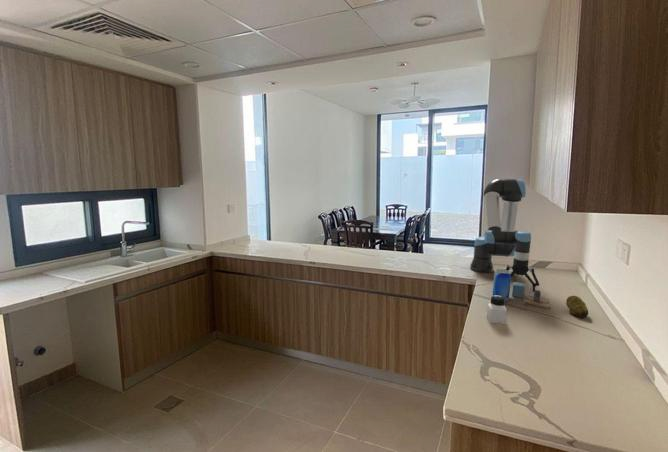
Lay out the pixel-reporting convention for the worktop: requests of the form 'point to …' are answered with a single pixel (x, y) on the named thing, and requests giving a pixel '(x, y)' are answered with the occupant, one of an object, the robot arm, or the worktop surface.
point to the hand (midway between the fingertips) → (517, 294)
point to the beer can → (502, 283)
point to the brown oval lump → (577, 306)
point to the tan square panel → (536, 300)
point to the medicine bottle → (497, 310)
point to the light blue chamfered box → (518, 289)
